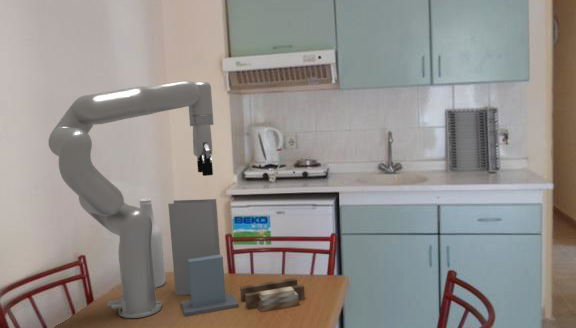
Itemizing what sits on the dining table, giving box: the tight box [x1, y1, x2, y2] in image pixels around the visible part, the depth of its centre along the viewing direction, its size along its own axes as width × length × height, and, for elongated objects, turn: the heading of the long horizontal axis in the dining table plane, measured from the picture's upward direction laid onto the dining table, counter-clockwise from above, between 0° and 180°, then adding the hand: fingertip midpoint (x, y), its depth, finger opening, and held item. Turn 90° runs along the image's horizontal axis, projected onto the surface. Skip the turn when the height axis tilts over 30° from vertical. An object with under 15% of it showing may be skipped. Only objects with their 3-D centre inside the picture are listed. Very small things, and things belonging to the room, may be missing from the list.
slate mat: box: [180, 293, 240, 317], centre depth 157 cm, size 16×9×1 cm, turn 108°
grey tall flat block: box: [168, 198, 221, 296], centre depth 168 cm, size 14×6×30 cm, turn 84°
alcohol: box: [138, 197, 166, 289], centre depth 177 cm, size 9×9×30 cm
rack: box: [239, 277, 306, 310], centre depth 160 cm, size 18×8×4 cm, turn 108°
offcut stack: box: [257, 287, 301, 313], centre depth 154 cm, size 12×4×5 cm, turn 108°
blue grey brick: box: [188, 253, 226, 308], centre depth 156 cm, size 10×3×14 cm, turn 109°
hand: (205, 173), depth 169 cm, fingers open, 9 cm apart
